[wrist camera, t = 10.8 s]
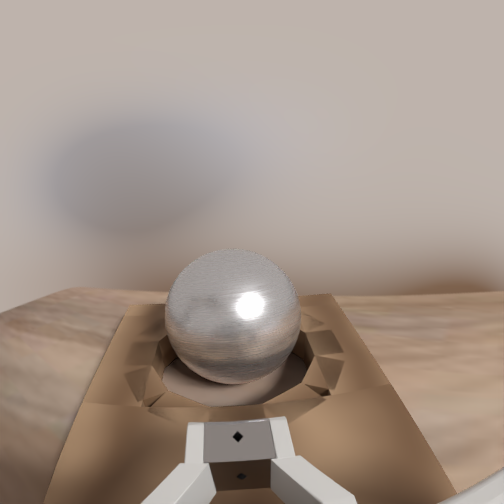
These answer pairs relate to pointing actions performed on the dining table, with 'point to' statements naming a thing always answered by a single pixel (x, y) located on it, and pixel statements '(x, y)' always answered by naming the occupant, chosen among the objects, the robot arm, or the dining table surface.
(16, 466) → the dining table surface
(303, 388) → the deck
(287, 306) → the ball
